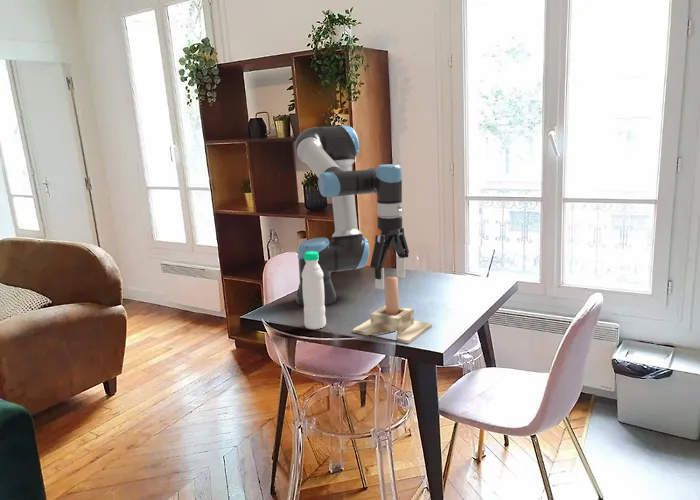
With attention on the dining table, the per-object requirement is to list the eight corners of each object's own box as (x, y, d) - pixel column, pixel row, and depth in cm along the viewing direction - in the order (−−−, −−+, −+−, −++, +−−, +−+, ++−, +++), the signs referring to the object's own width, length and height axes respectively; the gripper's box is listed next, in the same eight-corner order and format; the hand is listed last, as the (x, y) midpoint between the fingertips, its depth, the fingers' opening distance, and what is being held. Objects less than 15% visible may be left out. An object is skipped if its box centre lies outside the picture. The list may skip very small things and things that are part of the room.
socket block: (352, 332, 173) (351, 314, 172) (378, 317, 186) (377, 300, 185) (409, 343, 162) (408, 324, 161) (432, 326, 175) (431, 308, 174)
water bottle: (326, 321, 183) (322, 249, 178) (326, 329, 177) (322, 254, 171) (305, 323, 183) (300, 250, 178) (304, 330, 176) (299, 255, 171)
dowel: (384, 327, 173) (382, 278, 170) (390, 323, 177) (388, 275, 173) (395, 329, 171) (394, 280, 168) (401, 325, 175) (400, 277, 171)
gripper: (379, 224, 154) (381, 295, 159) (419, 210, 174) (419, 274, 179) (357, 222, 158) (359, 292, 163) (398, 208, 178) (399, 271, 183)
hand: (390, 282), depth 171 cm, fingers open, 13 cm apart
